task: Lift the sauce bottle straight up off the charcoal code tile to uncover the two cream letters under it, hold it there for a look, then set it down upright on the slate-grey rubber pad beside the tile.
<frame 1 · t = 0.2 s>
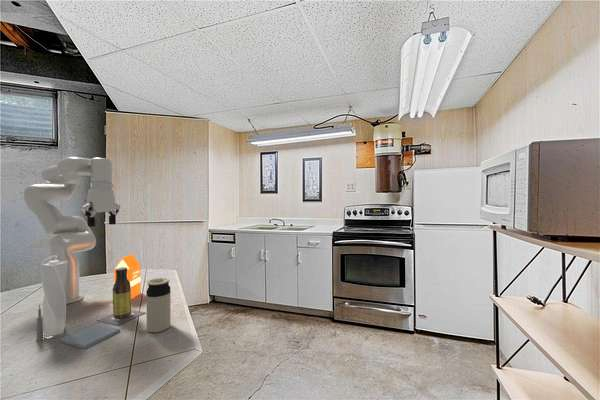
hand: (102, 225, 118), 37 cm above the countertop, tool pointing down, fingers open, 9 cm apart
skyscraper: (53, 334, 97), on the countertop
code tile: (122, 316, 111), on the countertop
sauce bottle: (122, 316, 111), resting on code tile
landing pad: (91, 336, 95), on the countertop
travel mug: (158, 328, 102), on the countertop
orange juice: (127, 296, 133), on the countertop
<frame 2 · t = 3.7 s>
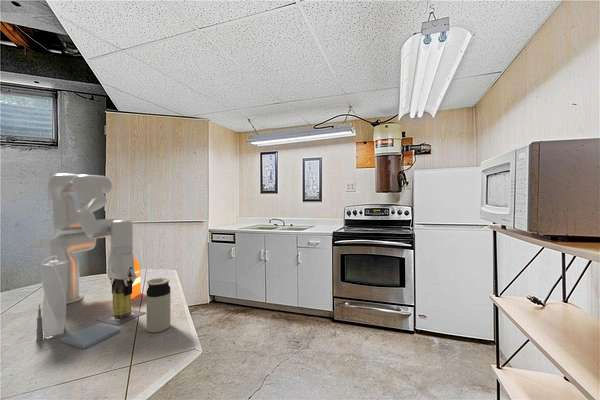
hand: (122, 293, 111), 10 cm above the countertop, tool pointing down, fingers closed on sauce bottle, 6 cm apart
sauce bottle: (122, 316, 111), resting on code tile, touching gripper
everything else where it was.
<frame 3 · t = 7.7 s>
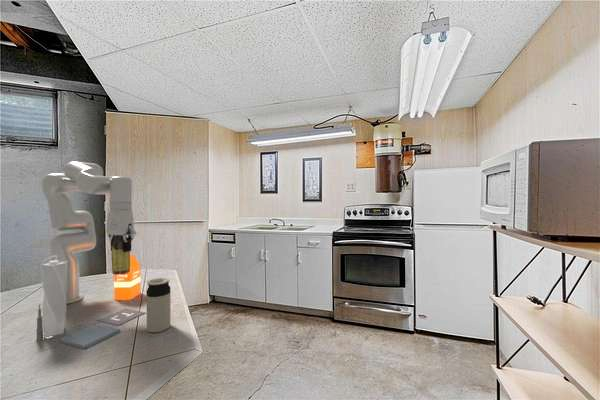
hand: (121, 250, 110), 27 cm above the countertop, tool pointing down, fingers closed on sauce bottle, 6 cm apart
sauce bottle: (121, 273, 110), point 18 cm above the countertop, touching gripper
everything else where it was.
when the fingers open (12 cm above the countertop, at t = 12.1 s): sauce bottle drops 1 cm, resting on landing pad.
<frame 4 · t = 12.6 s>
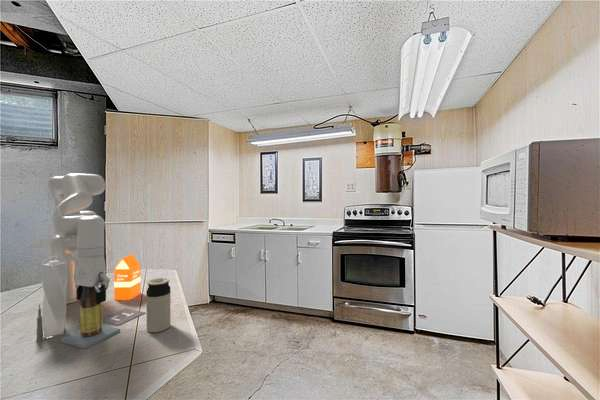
hand: (91, 300, 95), 13 cm above the countertop, tool pointing down, fingers open, 9 cm apart
sauce bottle: (91, 333, 95), point 1 cm above the countertop, touching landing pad
everything else where it was.
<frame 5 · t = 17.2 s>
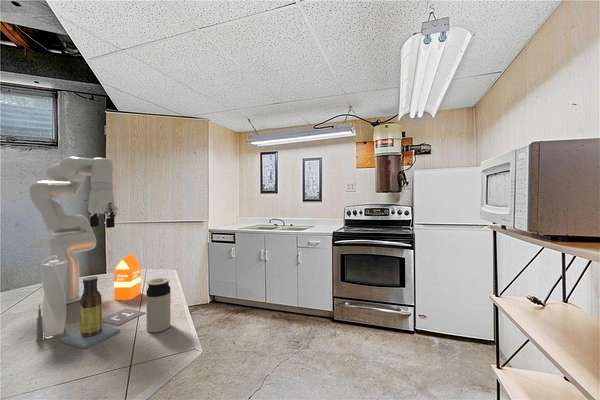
hand: (102, 227, 116), 36 cm above the countertop, tool pointing down, fingers open, 9 cm apart
nothing on the countertop moved.
at the end: sauce bottle inside the target area (0.2 cm from its centre), point 0.8 cm above the countertop; sauce bottle tilted 0°; the gripper is holding nothing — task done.
